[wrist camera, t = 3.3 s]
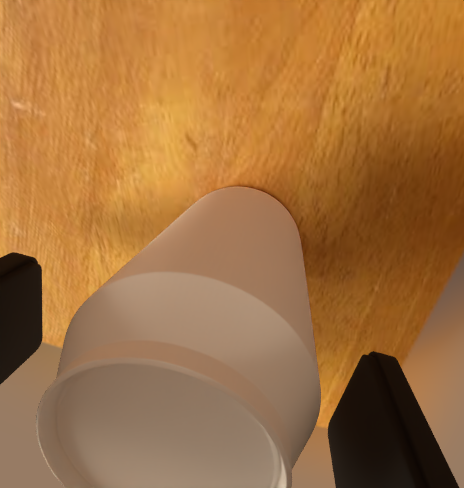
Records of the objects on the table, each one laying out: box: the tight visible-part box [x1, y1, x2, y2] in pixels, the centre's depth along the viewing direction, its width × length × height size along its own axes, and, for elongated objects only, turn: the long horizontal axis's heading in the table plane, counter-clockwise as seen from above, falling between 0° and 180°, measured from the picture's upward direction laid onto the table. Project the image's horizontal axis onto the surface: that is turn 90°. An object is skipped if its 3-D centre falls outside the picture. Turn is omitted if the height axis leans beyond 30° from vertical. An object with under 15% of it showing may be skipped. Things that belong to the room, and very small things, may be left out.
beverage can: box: [36, 186, 321, 488], centre depth 11 cm, size 6×6×12 cm
